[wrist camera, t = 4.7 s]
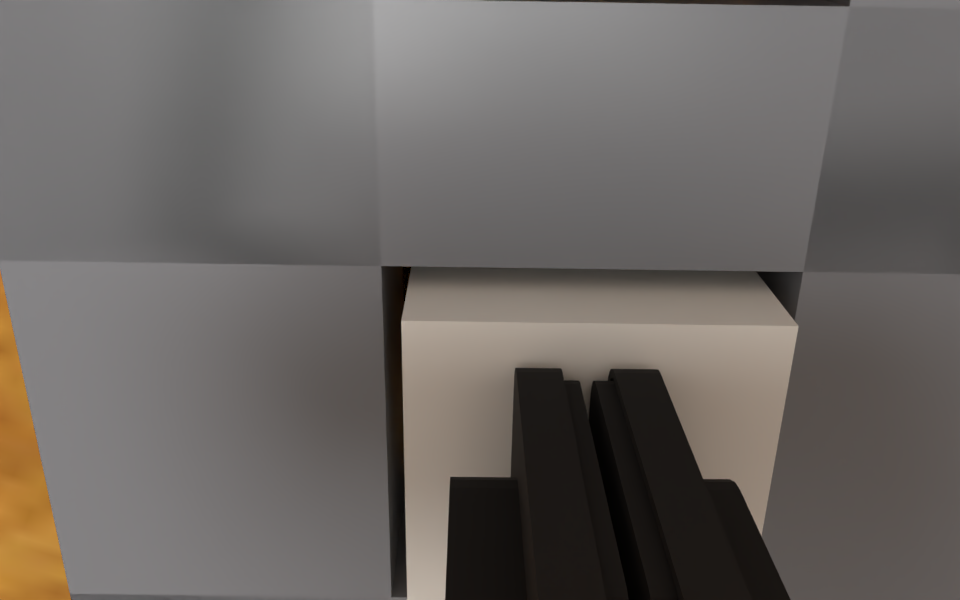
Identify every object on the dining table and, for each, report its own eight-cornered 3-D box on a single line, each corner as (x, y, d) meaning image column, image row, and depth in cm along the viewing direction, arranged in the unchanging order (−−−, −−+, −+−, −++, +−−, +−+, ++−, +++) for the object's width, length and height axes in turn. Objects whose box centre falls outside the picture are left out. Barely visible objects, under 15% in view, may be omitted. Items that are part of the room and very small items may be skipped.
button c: (717, 222, 13) (798, 326, 10) (685, 471, 15) (744, 630, 12) (420, 218, 13) (401, 320, 10) (423, 468, 15) (407, 627, 12)
